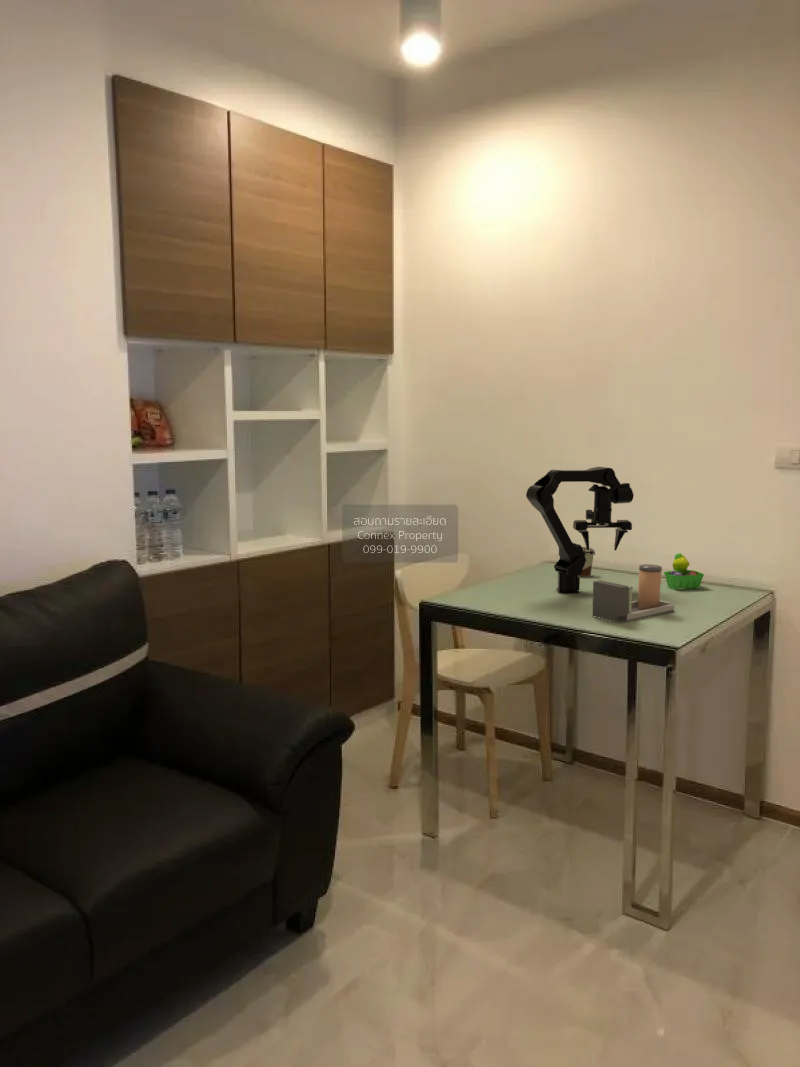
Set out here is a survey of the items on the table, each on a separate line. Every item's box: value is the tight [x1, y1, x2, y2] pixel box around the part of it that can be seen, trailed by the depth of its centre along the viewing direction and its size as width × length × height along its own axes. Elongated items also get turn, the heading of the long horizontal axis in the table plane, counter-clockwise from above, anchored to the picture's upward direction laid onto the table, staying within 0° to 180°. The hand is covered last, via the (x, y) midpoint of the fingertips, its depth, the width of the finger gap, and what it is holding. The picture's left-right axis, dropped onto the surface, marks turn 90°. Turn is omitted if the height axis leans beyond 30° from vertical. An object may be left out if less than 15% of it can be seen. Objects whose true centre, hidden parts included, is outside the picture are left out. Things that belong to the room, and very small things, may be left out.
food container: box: [578, 546, 596, 577], centre depth 318 cm, size 12×6×10 cm, turn 84°
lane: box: [591, 579, 675, 624], centre depth 259 cm, size 24×10×10 cm, turn 125°
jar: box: [637, 564, 663, 610], centre depth 263 cm, size 7×7×13 cm
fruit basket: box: [663, 552, 705, 590], centre depth 295 cm, size 11×9×11 cm
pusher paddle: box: [611, 582, 634, 614], centre depth 256 cm, size 1×8×9 cm, turn 35°
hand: (601, 550), depth 294 cm, fingers open, 9 cm apart
